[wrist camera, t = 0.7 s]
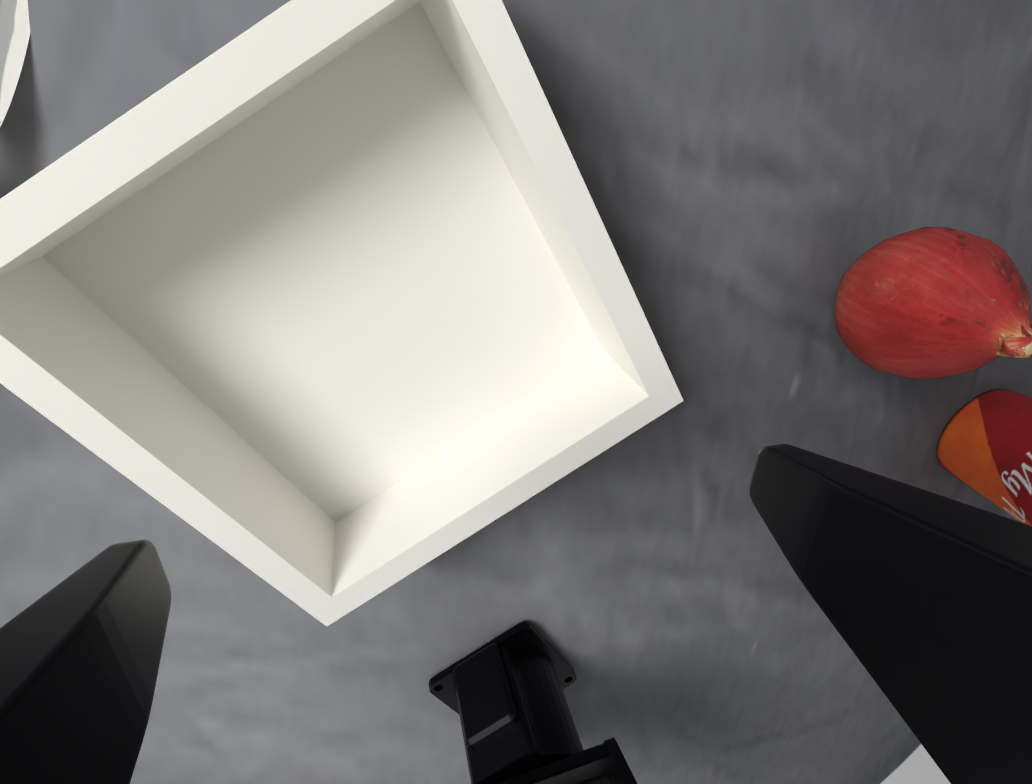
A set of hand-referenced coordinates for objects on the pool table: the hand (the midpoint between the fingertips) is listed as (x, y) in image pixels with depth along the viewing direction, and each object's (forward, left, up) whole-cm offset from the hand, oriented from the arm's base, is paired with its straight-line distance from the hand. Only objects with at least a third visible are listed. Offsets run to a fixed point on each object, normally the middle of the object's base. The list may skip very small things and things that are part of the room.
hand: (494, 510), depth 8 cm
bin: (0, +2, -13) cm, 14 cm away
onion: (-11, -16, -14) cm, 24 cm away
